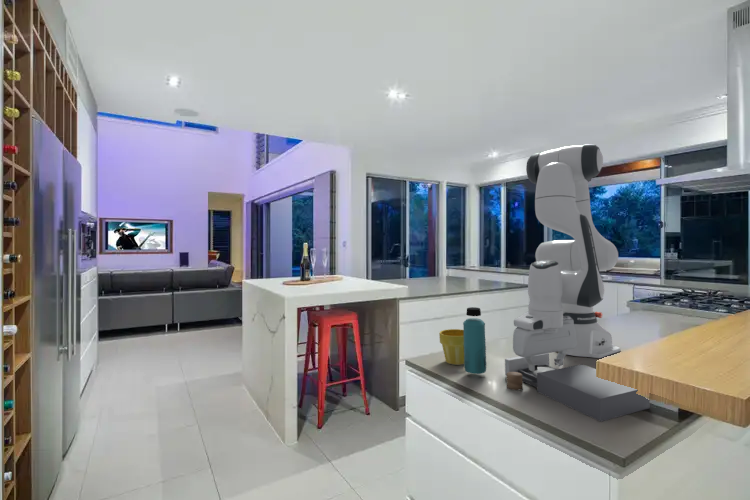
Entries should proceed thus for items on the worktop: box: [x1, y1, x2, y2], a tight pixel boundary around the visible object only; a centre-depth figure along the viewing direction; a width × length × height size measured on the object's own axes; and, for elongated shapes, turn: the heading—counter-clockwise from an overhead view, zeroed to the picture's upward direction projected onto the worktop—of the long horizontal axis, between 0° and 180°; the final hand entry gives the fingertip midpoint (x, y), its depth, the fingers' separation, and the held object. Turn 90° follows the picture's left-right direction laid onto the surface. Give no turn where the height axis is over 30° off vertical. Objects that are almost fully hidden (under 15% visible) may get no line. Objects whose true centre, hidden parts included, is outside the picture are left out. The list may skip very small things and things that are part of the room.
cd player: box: [536, 363, 651, 422], centre depth 95 cm, size 18×16×5 cm
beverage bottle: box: [462, 306, 488, 375], centre depth 113 cm, size 6×7×20 cm
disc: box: [533, 367, 555, 377], centre depth 108 cm, size 6×6×2 cm
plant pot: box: [439, 328, 464, 366], centre depth 126 cm, size 10×10×10 cm
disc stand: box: [506, 372, 524, 391], centre depth 104 cm, size 4×4×4 cm
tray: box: [504, 353, 557, 388], centre depth 106 cm, size 18×15×5 cm
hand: (546, 367), depth 108 cm, fingers open, 8 cm apart
